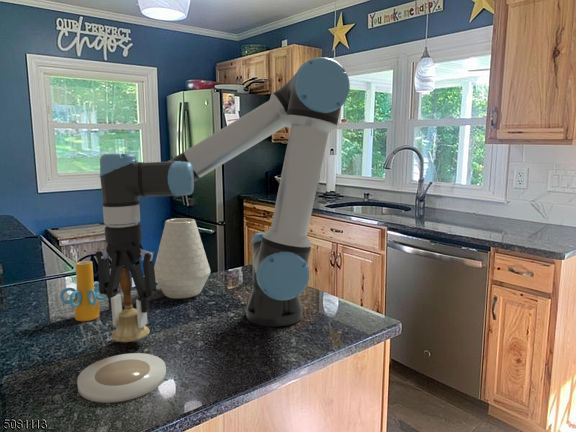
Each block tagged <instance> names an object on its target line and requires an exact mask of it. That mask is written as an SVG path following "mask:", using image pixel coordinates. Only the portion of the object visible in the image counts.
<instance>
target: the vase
mask: <svg viewBox="0 0 576 432" xmlns="http://www.w3.org/2000/svg"><path fill="white" fill-rule="evenodd" d="M160 238H161V239H160V242H159V246H158V251H157V254H156V259H155V263H154V271H155V280H156V284H157V285H158V287H159V289H160V290H161V292H162V293H163V295H164V296H165V297H167V298H169V299H175V300H176V299H177V300H179V299H180V300H182V299H190V298H193V297H196V296H198V295H200V294H201V292H202V290H203V288H204V286H205V285H206V283H207V280H208V279H209V276H210V275H211V272H212V271H211V268H210V264H209V262H208V258H207V255H206V251H205V249H204V244H203V242H202V238H201V234H200V232H199V228H198V225H197V222H196V219H194V218H186V217H185V218H171V219H167V220H165V222H164V227H163V231H162V236H161V237H160Z"/></svg>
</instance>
